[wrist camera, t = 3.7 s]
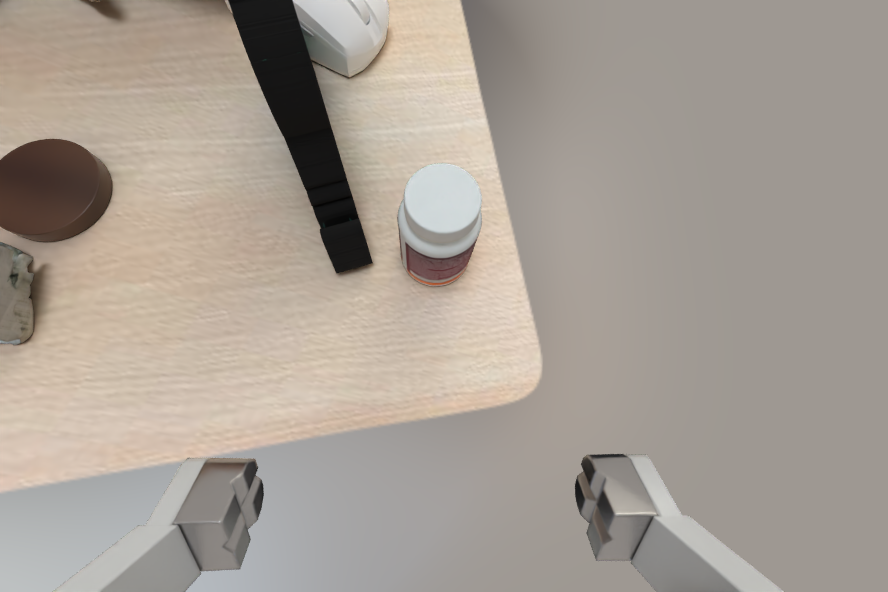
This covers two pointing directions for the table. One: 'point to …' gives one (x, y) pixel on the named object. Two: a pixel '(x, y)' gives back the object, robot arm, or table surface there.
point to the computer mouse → (342, 31)
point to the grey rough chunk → (15, 296)
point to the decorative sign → (302, 122)
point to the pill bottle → (439, 223)
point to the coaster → (52, 190)
